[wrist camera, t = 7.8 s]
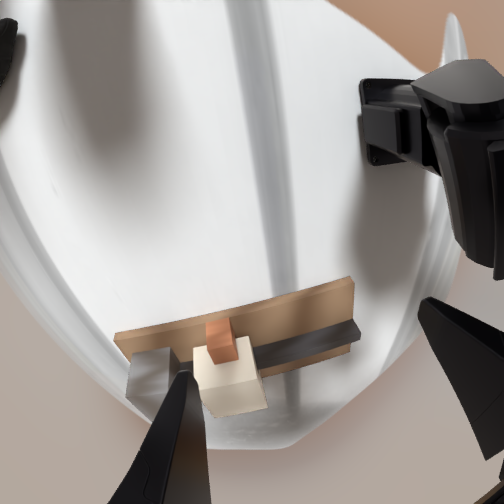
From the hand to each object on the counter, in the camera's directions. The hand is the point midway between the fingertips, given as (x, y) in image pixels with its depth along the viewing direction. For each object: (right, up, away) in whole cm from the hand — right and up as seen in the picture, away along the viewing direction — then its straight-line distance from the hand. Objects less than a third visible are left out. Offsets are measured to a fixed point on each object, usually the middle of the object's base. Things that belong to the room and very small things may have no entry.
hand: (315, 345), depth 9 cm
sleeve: (-4, -7, +16) cm, 18 cm away
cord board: (-3, -6, +17) cm, 18 cm away
